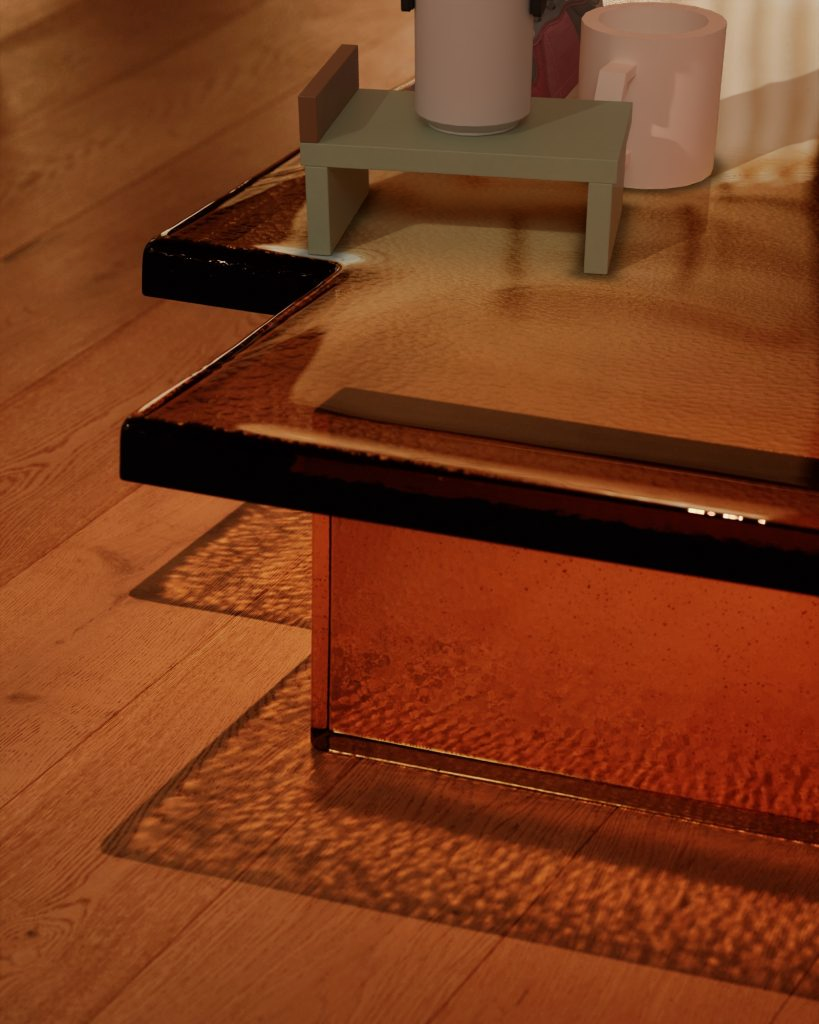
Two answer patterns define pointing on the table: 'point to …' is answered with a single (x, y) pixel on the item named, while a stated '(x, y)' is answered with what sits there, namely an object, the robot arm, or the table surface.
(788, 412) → the table surface
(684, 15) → the mug
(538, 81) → the sneaker
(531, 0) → the robot arm
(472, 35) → the can
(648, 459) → the table surface
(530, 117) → the shelf
